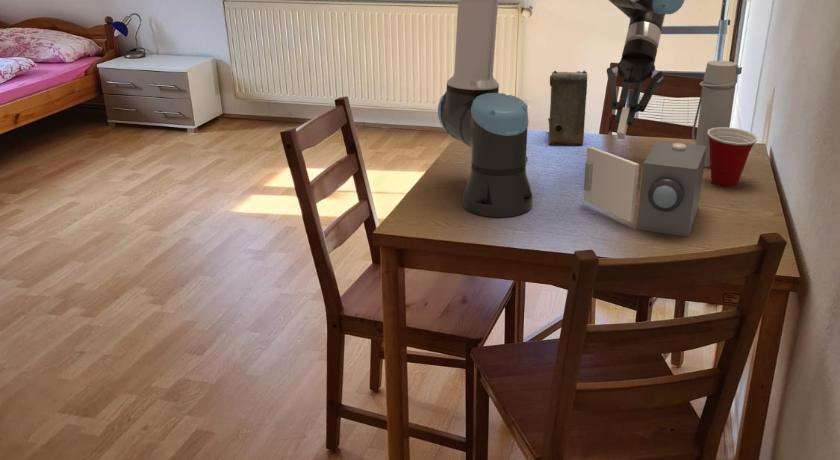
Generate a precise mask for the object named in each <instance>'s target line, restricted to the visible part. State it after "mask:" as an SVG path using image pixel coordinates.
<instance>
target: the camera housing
mask: <svg viewBox="0 0 840 460" xmlns="http://www.w3.org/2000/svg"><path fill="white" fill-rule="evenodd" d="M706 148H707V146H702V145H695V144H692V143H691V144H690V143H683V142H682V143H681V142H673V141H672V142H671V141H662V140H656V142H655V144H654V145H653V146H652V148H651V150H650V152H649V153H648V154H647V156H646V158H645V160H644V161H643V164H642V168H641V173H640V174H641V175H640V185H639V192H638V193H639V194H638V204H637V205H638V206H637V213H636V216H637V219H636V220H637V222H636V230H641V231H647V232H655V233H660V234H668V235H674V236H682V237H687V238H688V237H689V236H690V233H691V230H692V228H693V225H694V222H695V219H696V217H697V214H698V211H699V205H700V198H701V192H702V191H701V190H702V185H703V184H702V183H703V175H704V170H705V169H704V168H705V167H704V162H705V155H706Z"/></svg>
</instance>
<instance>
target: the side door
mask: <svg viewBox="0 0 840 460" xmlns="http://www.w3.org/2000/svg"><path fill="white" fill-rule="evenodd" d="M585 160H586V162H585V163H584V164H585V166H584V177H583V179H584V180H583V201H584V202H586V203H588V204H590V205H593V206H594V207H597V208H599V209H601V210H604V211H605V212H608V213H609V214H612V215H615V216H617V217H618V218H622V219H624V220H625V221H627V222H633V221H635V211H636V204H637V203H636V201H637V193H638V192H637V191H638V190H637V189H638V182H639V173H640V164H639V163H637V162H635V161H632V160H629V159H626V158H625V157H624V158H623V157H621V156H618V155H616V154H612V153H610V152H607V151H605V150H603V149H600V148H597V147H593V146H592V145H591V146H587V148H586V159H585Z"/></svg>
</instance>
